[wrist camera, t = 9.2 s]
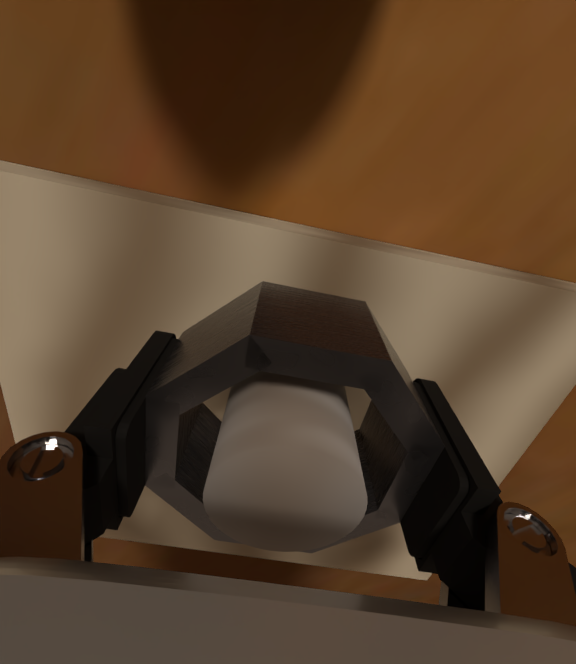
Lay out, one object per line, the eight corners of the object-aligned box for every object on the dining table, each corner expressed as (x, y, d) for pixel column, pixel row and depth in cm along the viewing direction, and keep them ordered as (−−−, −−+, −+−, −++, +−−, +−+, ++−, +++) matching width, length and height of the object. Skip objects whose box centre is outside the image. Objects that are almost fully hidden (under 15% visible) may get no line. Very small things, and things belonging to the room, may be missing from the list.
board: (600, 288, 13) (921, 439, 6) (418, 553, 21) (473, 735, 15) (-15, 156, 11) (-464, 174, 5) (54, 502, 20) (-68, 683, 13)
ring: (435, 315, 10) (487, 379, 7) (360, 477, 13) (377, 562, 10) (187, 266, 9) (142, 315, 6) (175, 448, 12) (143, 530, 10)
